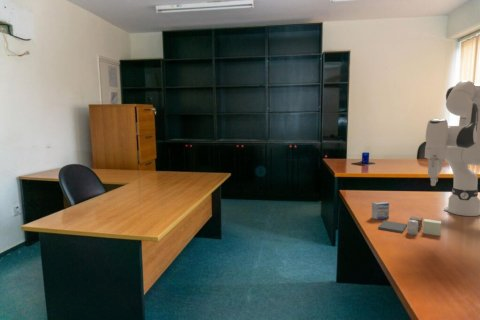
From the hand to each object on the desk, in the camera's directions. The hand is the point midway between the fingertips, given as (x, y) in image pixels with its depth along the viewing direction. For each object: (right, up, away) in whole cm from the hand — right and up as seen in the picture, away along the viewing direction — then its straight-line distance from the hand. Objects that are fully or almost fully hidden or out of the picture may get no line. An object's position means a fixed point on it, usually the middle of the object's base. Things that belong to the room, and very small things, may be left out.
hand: (434, 183), depth 152 cm
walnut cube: (-3, -23, +11) cm, 26 cm away
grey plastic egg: (-8, -24, +3) cm, 26 cm away
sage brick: (+1, -24, +3) cm, 24 cm away
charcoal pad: (-14, -23, +12) cm, 29 cm away
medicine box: (-13, -21, +28) cm, 37 cm away
